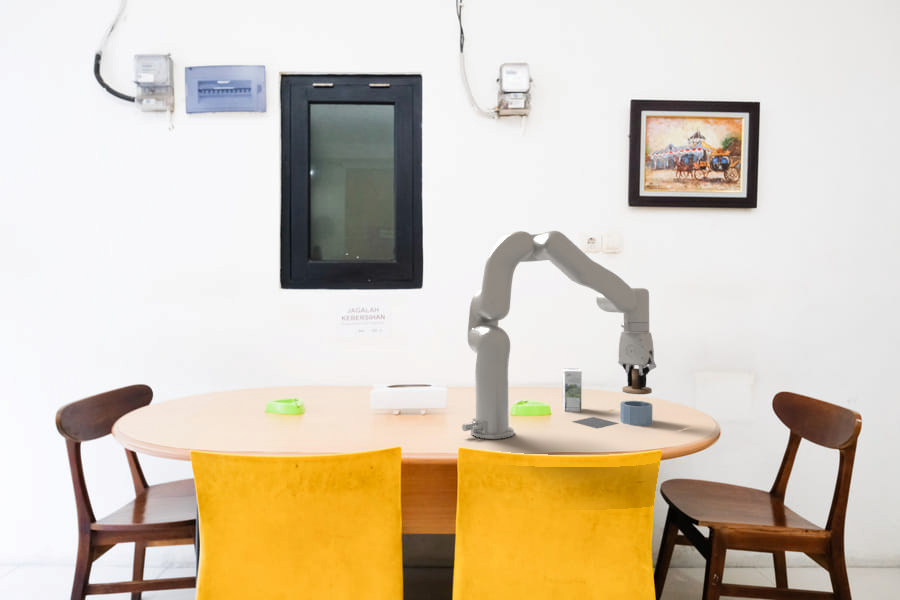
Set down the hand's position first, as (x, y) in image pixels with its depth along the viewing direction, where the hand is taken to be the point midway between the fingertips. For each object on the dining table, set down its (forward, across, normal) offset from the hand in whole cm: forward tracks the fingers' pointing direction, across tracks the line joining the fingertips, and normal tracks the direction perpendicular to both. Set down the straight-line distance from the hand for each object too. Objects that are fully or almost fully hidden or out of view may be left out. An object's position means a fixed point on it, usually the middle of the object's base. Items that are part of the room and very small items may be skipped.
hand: (636, 386), depth 165 cm
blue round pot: (+12, 0, 0) cm, 12 cm away
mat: (+12, -7, -11) cm, 18 cm away
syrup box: (+12, -23, -4) cm, 26 cm away
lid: (+2, 0, 0) cm, 2 cm away
